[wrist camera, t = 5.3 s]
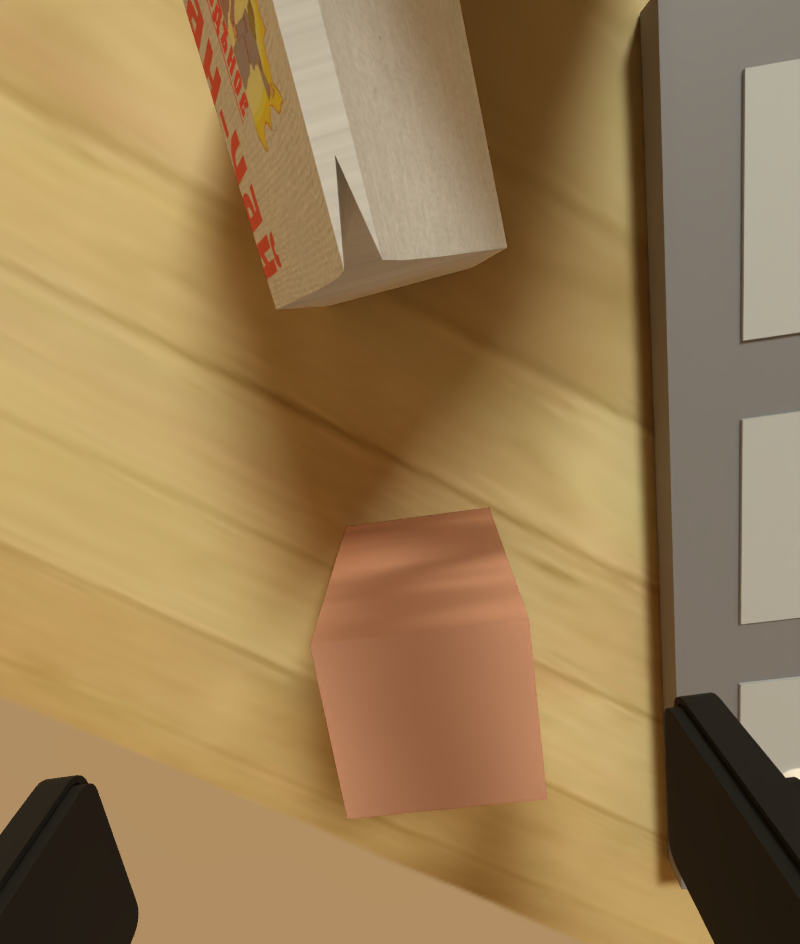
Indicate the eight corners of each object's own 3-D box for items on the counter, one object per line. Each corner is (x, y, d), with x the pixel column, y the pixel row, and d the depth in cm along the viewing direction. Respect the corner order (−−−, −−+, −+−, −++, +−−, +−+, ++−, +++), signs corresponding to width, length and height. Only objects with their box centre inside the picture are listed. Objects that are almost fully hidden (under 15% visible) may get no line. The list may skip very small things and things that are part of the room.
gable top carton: (405, -51, 13) (374, -1064, 3) (472, 267, 15) (577, 206, 5) (244, 1, 13) (-205, -782, 4) (328, 306, 15) (175, 316, 5)
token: (488, 507, 16) (529, 619, 11) (503, 634, 18) (546, 798, 12) (346, 526, 17) (309, 645, 11) (369, 650, 18) (347, 818, 12)
